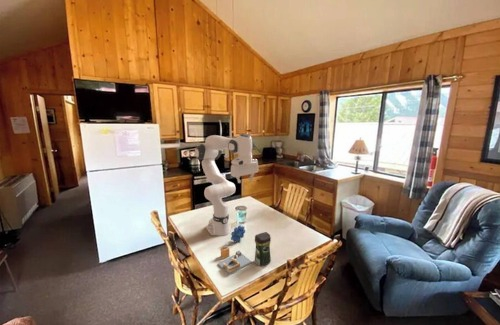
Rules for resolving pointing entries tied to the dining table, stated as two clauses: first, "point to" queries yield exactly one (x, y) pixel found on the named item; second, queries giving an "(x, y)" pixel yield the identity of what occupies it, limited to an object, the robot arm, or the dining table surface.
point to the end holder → (236, 266)
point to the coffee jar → (262, 248)
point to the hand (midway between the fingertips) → (245, 181)
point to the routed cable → (235, 256)
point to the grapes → (238, 233)
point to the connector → (225, 251)
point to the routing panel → (241, 259)
